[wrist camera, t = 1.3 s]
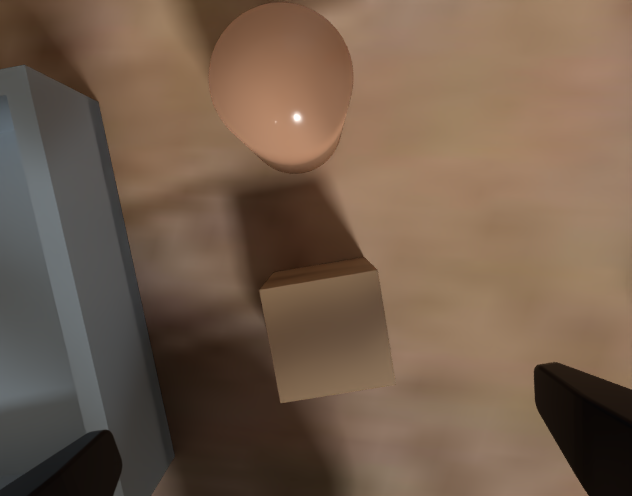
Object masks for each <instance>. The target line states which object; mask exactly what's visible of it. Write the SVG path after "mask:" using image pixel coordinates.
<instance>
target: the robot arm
mask: <svg viewBox="0 0 632 496" xmlns="http://www.w3.org/2000/svg"><path fill="white" fill-rule="evenodd" d="M534 389H535V403H536V406H537V409H538V412H539V413H540V415H541V417H542V419H543V420H544V422H545V424H546V426H547V427H548V429H549V431H550V432H551V434H552V436H553V437H554V439H555V441H556V443H557V444H558V446H559V448H560V449H561V451H562V453H563V455H564V456H565V458H566V460H567V461H568V463H569V465H570V467H571V468H572V470H573V472H574V473H575V475H576V477H577V478H578V480H579V482H580V483H581V485H582V486H583V488H584V489H585V491H586V492H587V494H588V495H589V496H632V390H631V389H629V388H626V387H623V386H620V385H618V384H615V383H612V382H609V381H607V380H604V379H601V378H599V377H596V376H593V375H590V374H588V373H585V372H582V371H580V370H577V369H574V368H571V367H569V366H566V365H563V364H560V363H557V362H553V363H546V364H540V365H537V366H536V367H535V369H534ZM122 465H123V464H122V458H121V455H120V453H119V450H118V447H117V444H116V442H115V439H114V436H113V434H112V432H111V431H109V430H107V429H105V430H98V431H91V432H88V433H86V434H85V435H83V436H82V437H80V438H79V439H77V440H76V441H74V442H72V443H71V444H69V445H68V446H66V447H65V448H63V449H62V450H60V451H59V452H57V453H56V454H54V455H52V456H51V457H49V458H48V459H46V460H45V461H43V462H42V463H40V464H39V465H37V466H35V467H34V468H32V469H31V470H29V471H28V472H26V473H25V474H23V475H22V476H20V477H19V478H17V479H15V480H14V481H12V482H11V483H9V484H8V485H6V486H5V487H3V488H2V489H0V496H113V495H114V492H115V490H116V487H117V484H118V481H119V478H120V476H121V472H122Z"/></svg>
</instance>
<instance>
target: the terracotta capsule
mask: <svg viewBox="0 0 632 496" xmlns="http://www.w3.org/2000/svg"><path fill="white" fill-rule="evenodd" d="M209 88H210V94H211V98H212V101H213V104H214V106H215V109H216V111H217V113H218V115H219V117H220V118H221V120H222V121H223V123H224V124H225V125H226V127H227V128H228V129H229V130H230V131H231V132H232V133H233V134H234V135H235V136H236V137H237V138H239V139H240V140H241V141H242V142H243V143H244V144H245V145H246V146H247V147H248V148H249V149H250V150H251V151H253V152H254V153H255V154H256V155H257V156H258V157H259V158H260V159H261V160H262V161H263V162H265V163H266V164H267V165H268V166H270V167H272V168H273V169H276V170H278V171H281V172H284V173H290V174H299V173H305V172H309V171H312V170H314V169H316V168H318V167H320V166H321V165H322V164H324V163H325V162H326V161H327V160H328V159H329V158H330V157H331V156H332V154H333V153H334V151H335V150H336V148H337V146H338V143H339V141H340V137H341V133H342V130H343V126H344V122H345V118H346V114H347V110H348V106H349V102H350V99H351V95H352V89H353V66H352V61H351V57H350V54H349V51H348V48H347V46H346V44H345V42H344V40H343V38H342V36H341V35H340V34H339V32H338V31H337V29H336V28H335V27H334V26H333V25H332V24H331V23H330V22H329V21H328V20H327V19H326V18H324V17H323V16H322V15H320V14H319V13H317V12H315V11H314V10H311V9H309V8H307V7H305V6H301V5H298V4H293V3H287V2H276V3H267V4H264V5H260V6H257V7H254V8H252V9H250V10H248V11H246V12H244V13H243V14H241V15H240V16H238V17H237V18H236V19H235V20H233V21H232V22H231V23H230V24H229V26H228V27H227V28H226V29H225V30H224V32H223V33H222V34H221V36H220V38H219V39H218V41H217V43H216V45H215V48H214V50H213V53H212V56H211V60H210V66H209Z"/></svg>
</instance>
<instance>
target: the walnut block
mask: <svg viewBox="0 0 632 496" xmlns="http://www.w3.org/2000/svg"><path fill="white" fill-rule="evenodd" d="M259 292H260V297H261V302H262V308H263V313H264V318H265V323H266V329H267V334H268V339H269V345H270V350H271V355H272V361H273V366H274V371H275V377H276V382H277V387H278V393H279V398H280V403H286V402H292V401H298V400H305V399H311V398H317V397H323V396H329V395H336V394H342V393H348V392H354V391H361V390H367V389H373V388H379V387H386V386H392V385H396V382H395V375H394V369H393V363H392V357H391V351H390V344H389V338H388V332H387V326H386V319H385V313H384V307H383V301H382V294H381V288H380V282H379V276H378V270H377V269H376V268H375V267H374V266H373V265H372V264H371V263H370V262H369V261H368V260H367V259H366V258H365V257H361V258H355V259H349V260H343V261H337V262H331V263H325V264H319V265H314V266H308V267H302V268H296V269H290V270H284V271H278V272H274V273H273V274H272V275H271V276H270V277H269V279H268V280H267V281H266V282H265V284H264V285H263V286H262V287H261V288H260V290H259Z"/></svg>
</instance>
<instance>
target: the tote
mask: <svg viewBox="0 0 632 496" xmlns="http://www.w3.org/2000/svg"><path fill="white" fill-rule="evenodd" d="M105 429H107V430H109V431H111V432H112V434H113V436H114V439H115V442H116V444H117V447H118V450H119V453H120V455H121V458H122V464H123V465H122V472H121V476H120V478H119V481H118V484H117V487H116V490H115V492H114V495H113V496H151V495H152V493H153V492H154V490H155V488H156V487H157V485H158V483H159V482H160V480H161V478H162V477H163V475H164V473H165V472H166V470H167V468H168V467H169V465H170V463H171V462H172V460H173V458H174V457H175V455H174V451H173V446H172V441H171V437H170V432H169V428H168V423H167V418H166V414H165V409H164V404H163V400H162V395H161V390H160V386H159V381H158V377H157V372H156V367H155V363H154V358H153V353H152V349H151V344H150V340H149V335H148V330H147V326H146V321H145V316H144V312H143V307H142V303H141V298H140V293H139V289H138V284H137V279H136V275H135V270H134V265H133V261H132V256H131V252H130V247H129V242H128V238H127V233H126V228H125V224H124V219H123V215H122V210H121V205H120V201H119V196H118V191H117V187H116V182H115V178H114V173H113V168H112V164H111V159H110V154H109V150H108V145H107V140H106V136H105V131H104V127H103V122H102V117H101V113H100V108H99V103H98V102H97V101H95V100H93V99H91V98H89V97H87V96H85V95H84V94H82V93H80V92H78V91H76V90H74V89H72V88H70V87H68V86H66V85H64V84H62V83H60V82H58V81H56V80H54V79H52V78H50V77H48V76H46V75H44V74H42V73H40V72H38V71H36V70H34V69H32V68H30V67H28V66H26V65H20V66H15V67H10V68H5V69H0V489H2V488H3V487H5V486H6V485H8V484H9V483H11V482H12V481H14V480H15V479H17V478H19V477H20V476H22V475H23V474H25V473H26V472H28V471H29V470H31V469H32V468H34V467H35V466H37V465H39V464H40V463H42V462H43V461H45V460H46V459H48V458H49V457H51V456H52V455H54V454H56V453H57V452H59V451H60V450H62V449H63V448H65V447H66V446H68V445H69V444H71V443H72V442H74V441H76V440H77V439H79V438H80V437H82V436H83V435H85V434H86V433H88V432H91V431H98V430H105Z"/></svg>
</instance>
